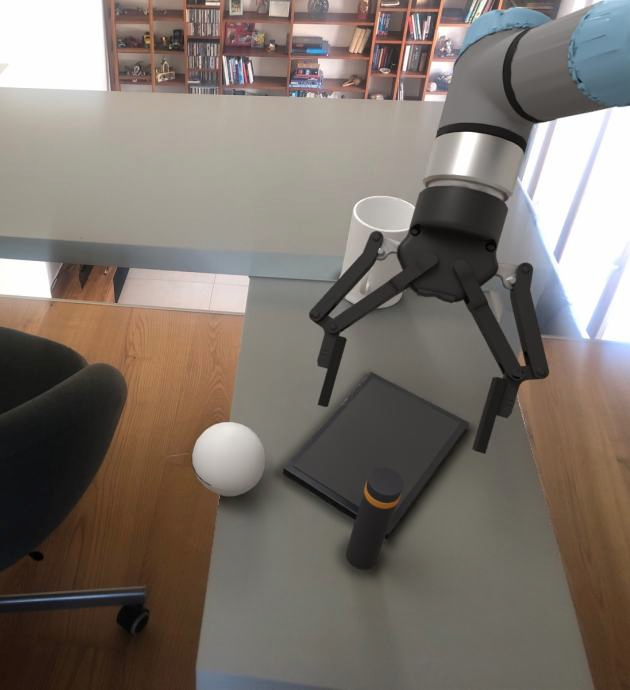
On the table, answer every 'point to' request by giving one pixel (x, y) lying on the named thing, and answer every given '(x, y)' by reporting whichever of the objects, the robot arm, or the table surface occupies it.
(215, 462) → the white sphere
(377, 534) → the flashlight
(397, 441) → the tablet
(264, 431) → the table surface
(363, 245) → the mug
